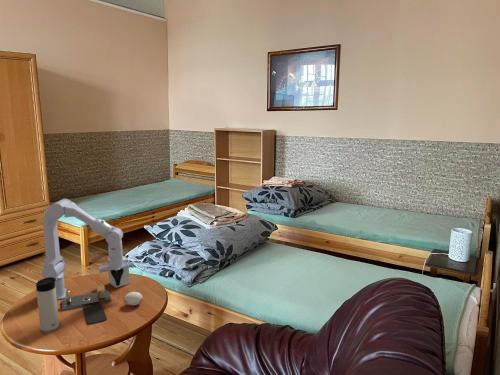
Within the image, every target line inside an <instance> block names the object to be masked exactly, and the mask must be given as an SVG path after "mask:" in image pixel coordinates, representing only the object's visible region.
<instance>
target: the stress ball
mask: <svg viewBox="0 0 500 375" xmlns="http://www.w3.org/2000/svg"><path fill="white" fill-rule="evenodd" d="M123 298H124V299H123V300H124V303H125V304H126V305H128V306H132V309H134V308H135V307H134V306H137V305H140V303H142V302H143V298H144V297H143V295H142V293H140V292H138V291H131V292H128V293H127V294H125V296H124V297H123Z"/></svg>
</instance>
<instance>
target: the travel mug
mask: <svg viewBox="0 0 500 375" xmlns="http://www.w3.org/2000/svg"><path fill="white" fill-rule="evenodd" d="M55 281H56V278H53V277H49V278H41V279H40V280H38V281H37V282H36V283H35V288H36V300H37V309H38V317H39V328H40V332H41V333H43V334H50V333H54V332H55V331H57V330H58V329H59V328H60V323H59V322H60V321H59V311H58V310H59V309H58V299H57V298H56V288H55Z"/></svg>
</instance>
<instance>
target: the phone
mask: <svg viewBox="0 0 500 375" xmlns="http://www.w3.org/2000/svg"><path fill="white" fill-rule="evenodd" d="M82 311H83V312H82V313H83V316H84V320H85V321H86V324H87V325H88V326H90V325H95V324H98V323H103V322H106V321H107V320H108V318H107V315H106V312H105V311H104V308H103V306H102V303H101V304H95V305H90V306H85V307H82Z"/></svg>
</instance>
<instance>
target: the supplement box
mask: <svg viewBox="0 0 500 375" xmlns="http://www.w3.org/2000/svg"><path fill="white" fill-rule="evenodd" d="M127 262H129V258H127V257H126V256H124V255H123V263H127ZM107 265H110V263H109V258H107ZM123 270H124V272H123V275H122V277H121V280H120V285H119V286H116V282H115V279H114V277H113V276H112V274H111V271H107V272H108V284H110V285H111V286H112V287H113V288H116V289H118V288H119V287H123V286H127V285H129V284H130V283H131V281H130V268H124V269H123Z"/></svg>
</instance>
